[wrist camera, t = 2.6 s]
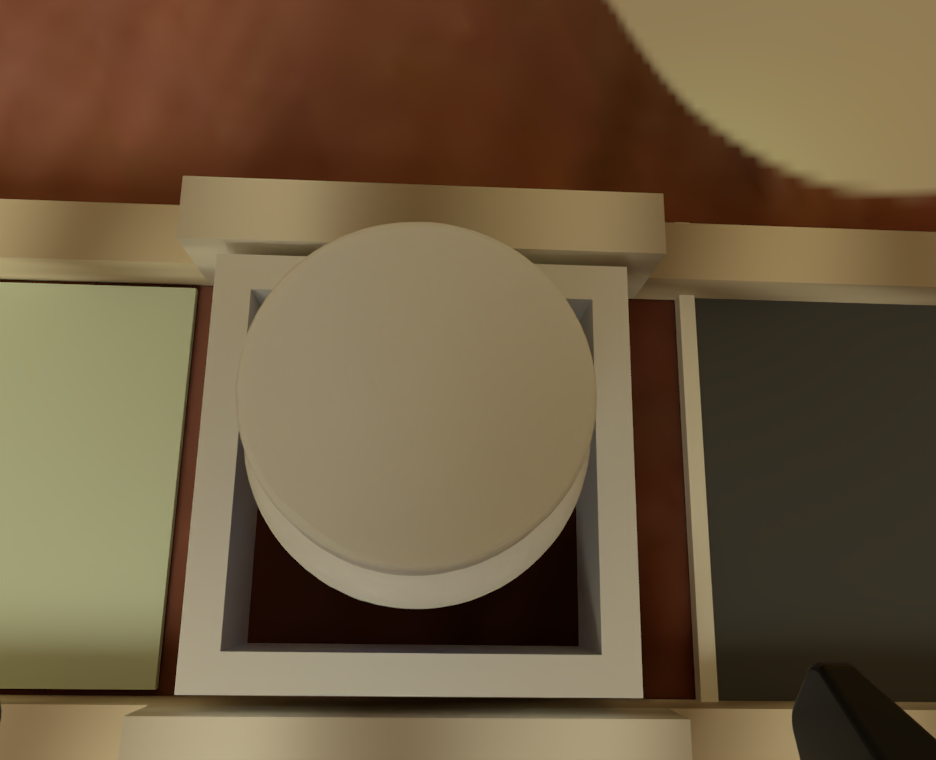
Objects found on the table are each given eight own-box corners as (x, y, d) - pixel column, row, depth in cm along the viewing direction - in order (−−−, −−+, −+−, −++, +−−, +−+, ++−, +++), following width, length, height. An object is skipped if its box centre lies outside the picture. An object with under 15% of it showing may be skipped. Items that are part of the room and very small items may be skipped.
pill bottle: (488, 639, 19) (555, 693, 9) (263, 553, 19) (103, 520, 10) (565, 415, 21) (690, 264, 11) (355, 338, 21) (295, 122, 11)
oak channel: (938, 256, 22) (1016, 206, 19) (1011, 769, 19) (1117, 803, 16) (-120, 220, 21) (-207, 161, 18) (-235, 766, 18) (-364, 802, 15)
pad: (198, 290, 21) (196, 287, 21) (157, 688, 18) (154, 689, 18) (-133, 280, 20) (-138, 277, 20) (-217, 685, 18) (-225, 686, 18)
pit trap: (950, 238, 22) (959, 232, 22) (1031, 796, 19) (1044, 800, 18) (670, 228, 22) (675, 222, 22) (700, 795, 18) (706, 799, 18)
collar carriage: (603, 304, 21) (626, 267, 18) (614, 683, 18) (643, 698, 16) (241, 293, 20) (216, 253, 18) (208, 680, 18) (174, 694, 16)
